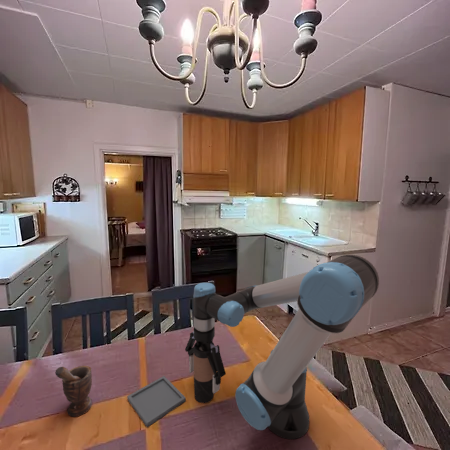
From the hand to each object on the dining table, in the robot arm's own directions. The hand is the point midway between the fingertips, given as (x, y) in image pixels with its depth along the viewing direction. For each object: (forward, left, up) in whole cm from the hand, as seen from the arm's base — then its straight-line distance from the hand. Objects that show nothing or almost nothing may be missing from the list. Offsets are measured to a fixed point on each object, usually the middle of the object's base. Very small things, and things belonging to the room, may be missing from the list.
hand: (203, 380), depth 93 cm
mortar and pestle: (+24, +36, -6) cm, 44 cm away
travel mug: (0, 0, -6) cm, 6 cm away
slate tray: (+10, +14, -6) cm, 18 cm away
